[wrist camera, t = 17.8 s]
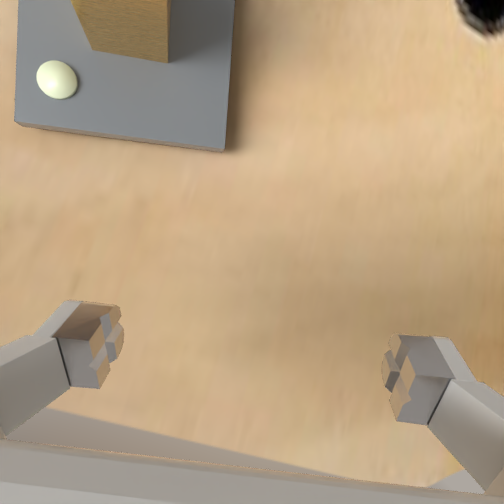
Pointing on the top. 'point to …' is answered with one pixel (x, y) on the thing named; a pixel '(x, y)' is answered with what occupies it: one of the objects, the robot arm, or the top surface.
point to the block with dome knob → (127, 27)
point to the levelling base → (126, 77)
